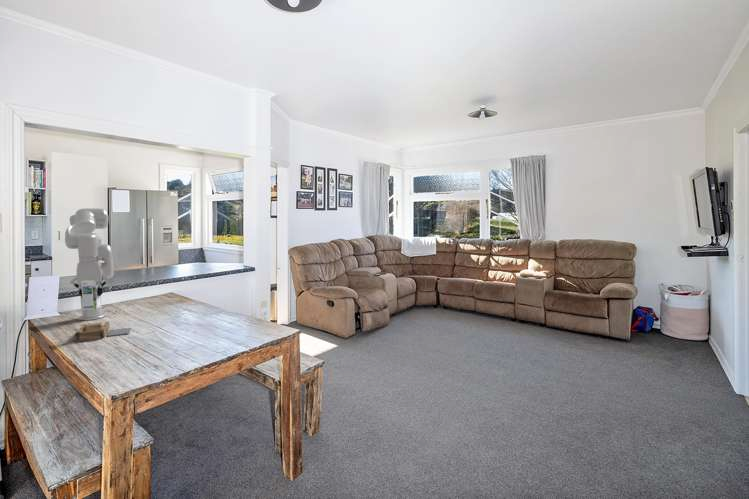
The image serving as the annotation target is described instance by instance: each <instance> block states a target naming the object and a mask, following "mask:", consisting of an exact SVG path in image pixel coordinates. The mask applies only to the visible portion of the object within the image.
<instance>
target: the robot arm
mask: <svg viewBox="0 0 749 499" xmlns="http://www.w3.org/2000/svg"><path fill="white" fill-rule="evenodd" d="M69 224H70V226H68V227H67V228H66V230H65V232H64V243H65V246H66V247H67V249H71V250H77V252H78V253H77V254H78V262H77V264H76V275H75V277H74V278H73V279H72V280H71V281H70V282H69V283H70V284H71V285H72V286H74V287H75V288H76V289H77V290H78V291H79V292H78V293H79V296H80V297H79V298H80V309H81V315H80V316H78V320H79V321H93V320H98V319H102V318H104V317H106V313H104V312H103V308H102V307H103V306H102V302H101V307H99V308H97V309H87V310H83V299H82V287H81V282H82V281H85V280H95V282H96V283H97V285H98V286H99V288H98V296H100V300H101V301H102V295H103V292H104V290H103V288H104V286H105V285H106V284H107V283H108V282H109V281H110V279H112V278H113V277H114V274H115V267H114V257H113V250H112V247H111V245H109V244H106V243H105V244H104V243H102V237H101V236H100V234H98V233H94V231H95V230H96V229H98V230H99V229H106V228H108V225H109V214H108V211H107V210H106V209H104V208H94V207H93V208H80V209H78V210H77V211H76V212H75V214H72V215H70V217H69ZM101 261H102V262H101ZM103 280H104V281H103Z"/></svg>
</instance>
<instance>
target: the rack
mask: <svg viewBox="0 0 749 499" xmlns="http://www.w3.org/2000/svg"><path fill="white" fill-rule="evenodd" d="M87 324H88V323H85V324H82V325H81V326H80V328H79V329H78V330H77V331H76V332H75V342H76V343H77V342H83V341H84V342H85V341H92V340H93V341H94V340H100V339H102V340H103V339H105V338H106V337H107V336H106V335H108V333H109V331H110V322H109V321H106V322H104V323H103V324H102V326H103V327H102V328H101V329H100V330H95V331H86V325H87Z"/></svg>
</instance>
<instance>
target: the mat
mask: <svg viewBox="0 0 749 499" xmlns="http://www.w3.org/2000/svg"><path fill="white" fill-rule="evenodd" d="M131 329H132V327H125V328H116V329H109V331H108V332H107V334H106V335H107V336H106V337H117V336H125V335H129V334H130V333H131Z"/></svg>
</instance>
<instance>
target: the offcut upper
mask: <svg viewBox="0 0 749 499" xmlns="http://www.w3.org/2000/svg"><path fill="white" fill-rule="evenodd" d="M86 324H87V325H86V330H90V329H98V328H101V327H102V326H103V323H102V321H100V322H90V323H86Z"/></svg>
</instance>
